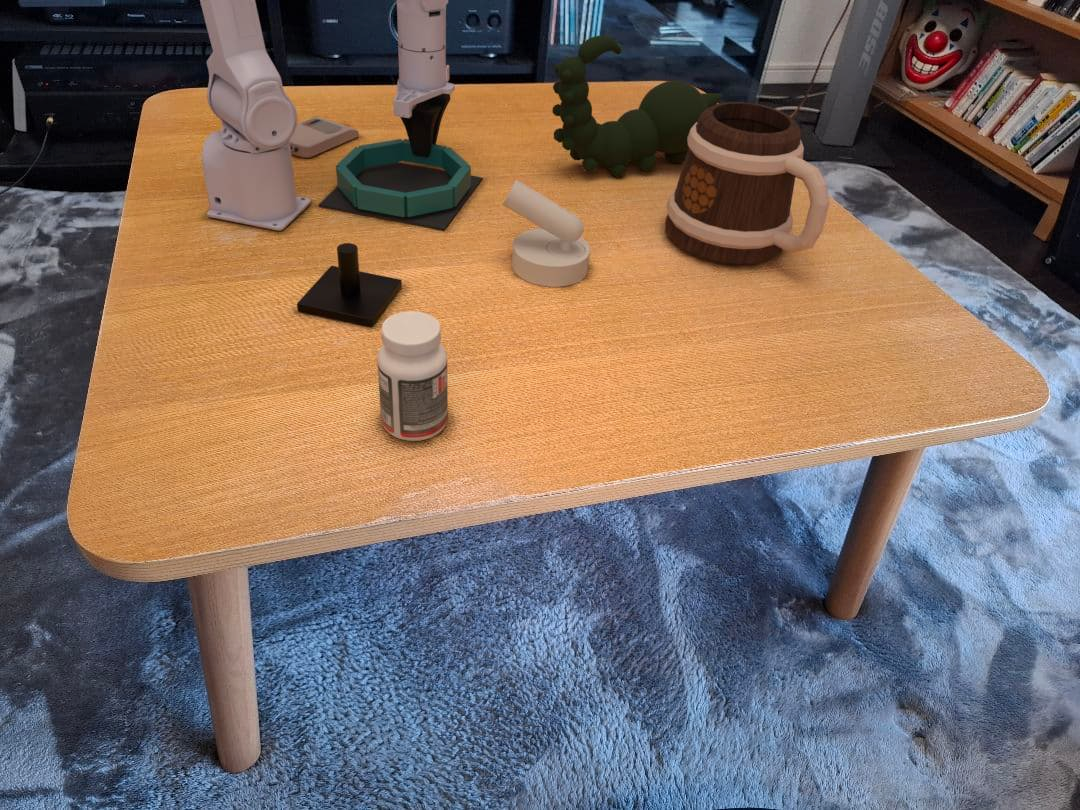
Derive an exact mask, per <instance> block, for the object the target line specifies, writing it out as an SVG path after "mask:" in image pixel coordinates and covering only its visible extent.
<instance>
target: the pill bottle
mask: <svg viewBox="0 0 1080 810" xmlns="http://www.w3.org/2000/svg"><path fill="white" fill-rule="evenodd" d="M441 330H442V329H441V323H440V322H439V321H438V320H437V319H436V318H435V317H434V316H432V314H428V313H426V312H423V311H416V310H415V311H414V310H408V311H407V310H406V311H400V312H397V313H394V314H392V315H390V316H388V317H387V318H386V319H385V320H384V321H383V323H382V325H381V341H382V345H381V346H380V348H379V350H378V352H377V357H376V358H377V359H376V361H377V375H378V377H377V378H378V392H379V407H380V419H381V424H382V427H383V428H384V430H385V431H386V432H387V433H388V434H390V435H391V436H392V437H394V438H397V439H400V440H403V441H408V442H420V441H425V440H428V439H431V438H433V437H435V436H436V435H438V434H440V433H441V432H442V431H443V430H444V429H445V427H446V425H447V422H448V415H449V410H448V409H449V408H448V407H449V406H448V405H449V404H448V401H449V399H448V396H449V395H448V355H447V354H448V353H447V350H446V349H445V346H443V344H442V343H441V341H442V331H441Z"/></svg>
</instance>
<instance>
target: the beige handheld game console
mask: <svg viewBox="0 0 1080 810" xmlns="http://www.w3.org/2000/svg"><path fill="white" fill-rule="evenodd" d="M359 137H360V132H359V130H357V129H355V128H354V127H351V126H347V125H345V124H342V123H339V122H336V121H333V120H331V119H327V118H324V117H320V116H314V117H311V118H307V119H305V120H303V121H301V122H297V125H296V129H295V131H294V134H293V135H292V137H291V138H290V147H291V155H294V156H296V157H300V158H305V159H310V158H313V157H315V156H317V155H320V154H322V153H324V152H327V151H329V150H331V149H333V148H336V147H338V146H340V145H342V144H344V143H347V142H350V141H352V140H355V139H357V138H359Z"/></svg>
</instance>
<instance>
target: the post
mask: <svg viewBox="0 0 1080 810" xmlns="http://www.w3.org/2000/svg"><path fill="white" fill-rule="evenodd" d="M336 253H337V266H335V265H330V266H329V267H328V268H327V270H326V271H325V272H324V273H323V274H322V275H321V276H320V277H319V279H318V280H317V281H316V282H314V284H313V285H312V286H311V287H310V288H309V289H308V290H307V292H306V293H305V294H304V295H303V296H302V297H301V298H300V299H299V301H298V302H297V303H296V308H297V312H298V313H302V314H303V313H304V314H307V315H311V316H316V317H321V318H326V319H330V320H334V321H335V320H336V321H340V322H346V323H349V324H354V325H359V326H364V327H369V328H373V327H374V325H375V324H376V323H377V321H378V320H379V319H380V318H381V316H382V315H383V313H384V312H385V311H386V309H387V308H389V305H390V304H391V303H392V301H393V300H394V299H395V298H396V296H397V295H398V293H399V292H400V291H401V289H403V288H402V287H403V283H402V279H400V278H395V277H390V276H385V275H382V274H381V275H380V274H376V273H370V272H366V271H361V270H360V263H359V249H358V245H357V244H354V243H350V242H345V243H341V244H339V245H337V247H336Z"/></svg>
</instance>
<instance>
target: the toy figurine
mask: <svg viewBox="0 0 1080 810" xmlns="http://www.w3.org/2000/svg"><path fill="white" fill-rule="evenodd" d="M607 52H613V53H614V54H616V55H620V54H621V53H622V48H621V46H620V45H619V43H618V42H617V40H615V39H614V38H612V37H610V36H608V35H602V34H601V35H594V36H592V37H590V38H588V39H586V40H585V41H583V42H582V43H581V44H580V46H579V48H578V51H577V56H568V57H566V58H564V59H562V61H561V62H558V63H556V64H555V65H554V67H553V72H554V74H557V75H558V78H559V80H560V81H556V82H554V83H553V85H552V89H553V91H554V93H555V94H556V95H558V97H559V100H560V101H561V102H560V103H557V104H555V105H553V106H552V114H553V115H554V116H556V117H559V118H560V120H561V123H562V127H558V128H556V129H555V130H554V131H553V139H554V140H555V141H556V142H558V143H561V145H562V146H561V147H562V149H564V150H566V151H569V155H570V158H571V159H572V160H574V161H581V160H582V163H581V167H582V168H583V170H584V171H585V172H588V173H592V172H594V171H595V170H597V169H598V165H599V166H601V167H603V168H605V169H609V170H610V174H611V175H612V176H614V177H615V178H618V177H622V176H624V174H625V173H626V165H627V164H629V163H630V162H636V164H637V166H638V167H639V169H640V170H642V171H647V172H649V171H651V170H653V169H654V168H655V167H656V164H657V161H658V159H657V157H656V154H657V153H662V154H664V157H665V159H667V161H669V162H670V163H672V164H683V163H684V161H685V158H686V155H687V152H688V148H689V146H688V140H687V137H688V135H689V132H690V129H691V128H692V127H693V126H694V124H695V123H697V122H698V120H699V117H700V115H701V114H702V113H703V111H704V110H706V109H708V108H710V107H711V106H714V105H716V104H719V103H720V102H721V101H722V100H723V98H724V94H723V93H721V92H720V93H717V92H713V93H710V92H709V93H708V92H707V93H706V92H705V93H703V92H702V93H701V92H700V91H699V89H698V88H696V87H695V86H693V85H692V84H690V83H688V82H685V81H683V80H682V81H681V80H668V81H664V82H662V83H659V84H657V85H656V86H654V87H652V88H651V89H649V91H647V93H646V94H645V95H644V96H643V98H642V100H641V101H640V104H639V106H638V108H634V109H630V110H628V111H626V112H624V113H623V114H622V115H620V117H618V118H617V120H609V121H605V122H603V123H598V122H597V120H596V118H595V117H594V116H593V106H592V103H591V101H590V100H589V98H588V97H589V94H590V87H589V83H588V81H587V79H586V75H587V69H586V65H587V64H591V63H593V62H594V61H596V60H597V59H598V58H599V57H600V56H601V55H602V54H605V53H607Z"/></svg>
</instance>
